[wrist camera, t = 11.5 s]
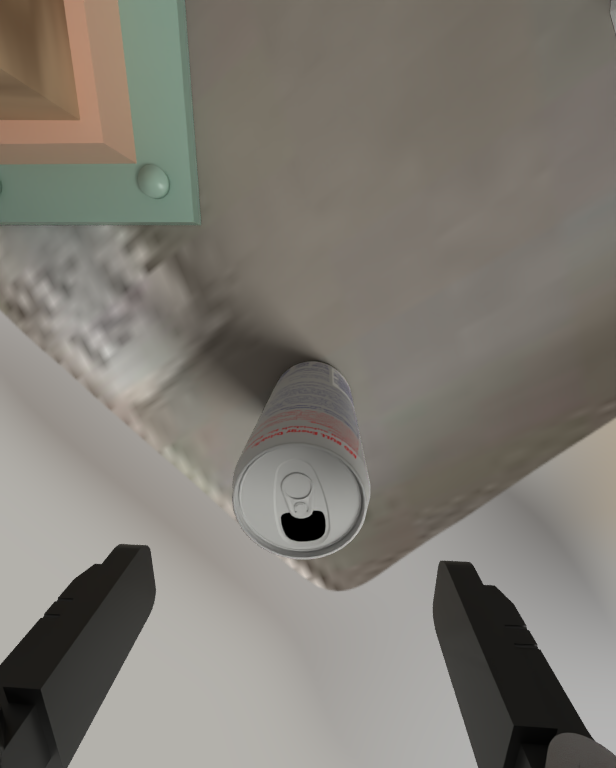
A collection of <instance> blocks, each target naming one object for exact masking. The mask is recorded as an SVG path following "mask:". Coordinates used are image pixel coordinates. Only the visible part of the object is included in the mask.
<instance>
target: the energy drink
mask: <svg viewBox="0 0 616 768" xmlns="http://www.w3.org/2000/svg"><path fill="white" fill-rule="evenodd" d="M232 485H233V496H232V501H233V510H234V513H235V516H236V519H237V521H238V523H239V525H240V526H241V528H242V529H243V531H244V532H245V533H246V535H247V536H248V537H249V538H250V539H251V540H252V541H253V542H255V543H256V544H257V545H258V546H260V547H261V548H263V549H265V550H267V551H269V552H270V553H273V554H276V555H278V556H281V557H285V558H291V559H314V558H321V557H324V556H327V555H330V554H332V553H334V552H336V551H338V550H340V549H342V548H343V547H344V546H346V545H347V544H348V543H349V542H351V541H352V540H353V538H354V537H355V536H356V535H357V534H358V532H359V531H360V529H361V527H362V525H363V523H364V520H365V516H366V512H367V507H368V503H369V500H370V481H369V476H368V471H367V466H366V461H365V457H364V452H363V447H362V442H361V438H360V433H359V428H358V423H357V419H356V414H355V409H354V404H353V400H352V395H351V390H350V387H349V385H348V382H347V380H346V379H345V378H344V376H343V375H342V374H341V373H340V372H339V371H338V370H337V369H335V368H333V367H332V366H330V365H328V364H325V363H321V362H316V361H311V362H303V363H299V364H297V365H294V366H292V367H291V368H289V369H288V370H287V371H286V372H285V373H284V374H283V375H282V376H281V377H280V379H279V380H278V382H277V384H276V386H275V388H274V390H273V392H272V394H271V396H270V398H269V400H268V402H267V404H266V406H265V408H264V410H263V412H262V414H261V416H260V418H259V420H258V422H257V424H256V426H255V428H254V430H253V432H252V434H251V436H250V438H249V440H248V442H247V444H246V446H245V448H244V450H243V452H242V454H241V456H240V458H239V460H238V463H237V465H236V468H235V471H234V476H233V484H232Z"/></svg>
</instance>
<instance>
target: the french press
mask: <svg viewBox="0 0 616 768" xmlns="http://www.w3.org/2000/svg"><path fill="white" fill-rule="evenodd" d="M610 15H611V18H612V22H613V26H614V29H615V33H616V0H611V7H610Z"/></svg>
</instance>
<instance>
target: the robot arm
mask: <svg viewBox="0 0 616 768" xmlns="http://www.w3.org/2000/svg"><path fill="white" fill-rule="evenodd" d="M155 594H156V588H155V579H154V572H153V565H152V558H151V551H150V548H149V547H148V546H146V545H128V544H120V545H118V546H117V547H115V548H114V550H113V551H112V552H111V553H110V554H109V556H108V557H107V558H106V559H105V561H104V562H103V563H102V564H94V565H93V566H91V567H90V568H89V569H88V570H86V571H85V572H83V573H82V574H81V575H79V576H78V577H76V578H75V579H74V580H73V581H72V582H71V583H70V585H69V586H68V587H67V588H66V589H65V590H64V592H63V593H62V594H61V595H60V596H59V597H58V600H57V602H54V603H53V604H52V605H51V607H50V608H49V609H48V610H47V612H45V614H44V617H43V618H40V619H39V621H38V622H37V623H36V624H35V625H34V626H33V628H32V629H31V630H30V631H29V632H28V634H27V635H26V636H25V637H24V638H23V639H22V640H21V641H20V643H19V644H18V645H17V646H16V647H15V648H14V650H13V651H12V652H11V653H10V654H9V655H8V657H7V658H6V659H5V660H4V661H3V662H2V664H1V665H0V768H67V767H68V765H69V763H70V762H71V760H72V758H73V756H74V754H75V752H76V751H77V749H78V747H79V745H80V743H81V741H82V739H83V737H84V736H85V734H86V732H87V730H88V728H89V726H90V725H91V723H92V721H93V719H94V717H95V715H96V713H97V711H98V710H99V708H100V706H101V704H102V702H103V700H104V699H105V697H106V695H107V693H108V691H109V689H110V687H111V686H112V684H113V682H114V680H115V678H116V676H117V674H118V673H119V671H120V669H121V667H122V665H123V663H124V661H125V659H126V658H127V656H128V654H129V652H130V650H131V648H132V647H133V645H134V643H135V641H136V639H137V637H138V635H139V634H140V632H141V630H142V628H143V626H144V624H145V622H146V621H147V619H148V617H149V615H150V613H151V610H152V607H153V604H154V601H155ZM433 619H434V625H435V630H436V634H437V637H438V640H439V643H440V646H441V650H442V653H443V656H444V659H445V663H446V666H447V669H448V672H449V675H450V679H451V682H452V685H453V688H454V691H455V695H456V698H457V701H458V704H459V707H460V711H461V714H462V717H463V720H464V723H465V726H466V730H467V733H468V736H469V739H470V743H471V746H472V749H473V752H474V755H475V758H476V762H477V765H478V768H616V756H615V755H614V754H613V753H612V752H610V751H609V750H608V749H606V748H605V747H603V746H602V745H601V744H599V743H597V742H595V741H594V739H593V738H592V737H591V735H590V734H589V732H588V731H587V729H586V727H585V726H584V724H583V722H582V720H581V719H580V717H579V715H578V714H577V712H576V710H575V709H574V707H573V705H572V703H571V702H570V700H569V698H568V697H567V695H566V693H565V692H564V690H563V688H562V686H561V685H560V683H559V681H558V679H557V678H556V676H555V674H554V672H553V671H552V669H551V667H550V666H549V664H548V662H547V660H546V659H545V657H544V655H543V654H542V652H541V650H539V649H538V647H537V643H536V642H535V640H534V638H533V636H532V635H531V633H530V631H529V630H527V628H526V624H525V623H524V621H523V619H522V618H521V616H520V614H519V612H518V611H517V609H516V607H515V606H514V604H513V603H512V602H511V601H510V600H509V599H508V598H507V597H506V596H505V595H504V594H503V593H502V592H501V591H500V590H499V589H497V587H495V586H492V585H483V583H482V581H481V579H480V577H479V576H478V574H477V572H476V570H475V568H474V566H473V565H472V564H471V563H470V562H457V561H440V563H439V566H438V572H437V579H436V586H435V594H434V601H433Z"/></svg>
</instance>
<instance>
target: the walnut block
mask: <svg viewBox="0 0 616 768" xmlns="http://www.w3.org/2000/svg"><path fill="white" fill-rule="evenodd" d="M0 120H80V114H79V107H78V100H77V93H76V85H75V78H74V71H73V64H72V57H71V50H70V43H69V36H68V29H67V21H66V14H65V7H64V0H0Z"/></svg>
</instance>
